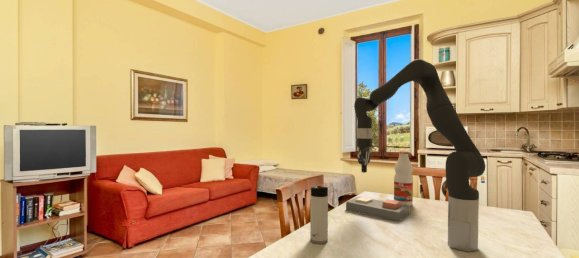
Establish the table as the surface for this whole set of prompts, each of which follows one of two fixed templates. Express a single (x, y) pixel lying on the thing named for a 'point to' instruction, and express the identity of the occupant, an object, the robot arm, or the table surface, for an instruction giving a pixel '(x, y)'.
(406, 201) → the fruit juice
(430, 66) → the robot arm
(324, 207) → the travel mug
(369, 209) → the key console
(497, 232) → the table surface
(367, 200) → the off-white key
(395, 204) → the brick-red key
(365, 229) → the table surface
